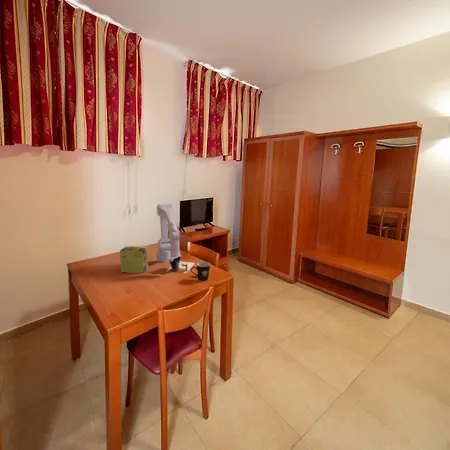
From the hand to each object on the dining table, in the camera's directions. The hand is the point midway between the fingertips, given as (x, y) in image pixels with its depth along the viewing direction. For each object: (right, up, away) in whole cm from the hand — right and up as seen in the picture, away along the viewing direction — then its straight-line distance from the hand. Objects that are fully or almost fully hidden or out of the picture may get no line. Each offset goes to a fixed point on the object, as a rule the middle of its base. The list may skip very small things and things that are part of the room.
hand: (175, 268), depth 173 cm
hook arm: (+6, -2, -1) cm, 7 cm away
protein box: (-28, -2, +2) cm, 28 cm away
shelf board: (+3, -2, +6) cm, 7 cm away
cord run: (-1, +1, +10) cm, 10 cm away
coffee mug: (+18, -6, -9) cm, 21 cm away
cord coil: (0, -1, 0) cm, 1 cm away
